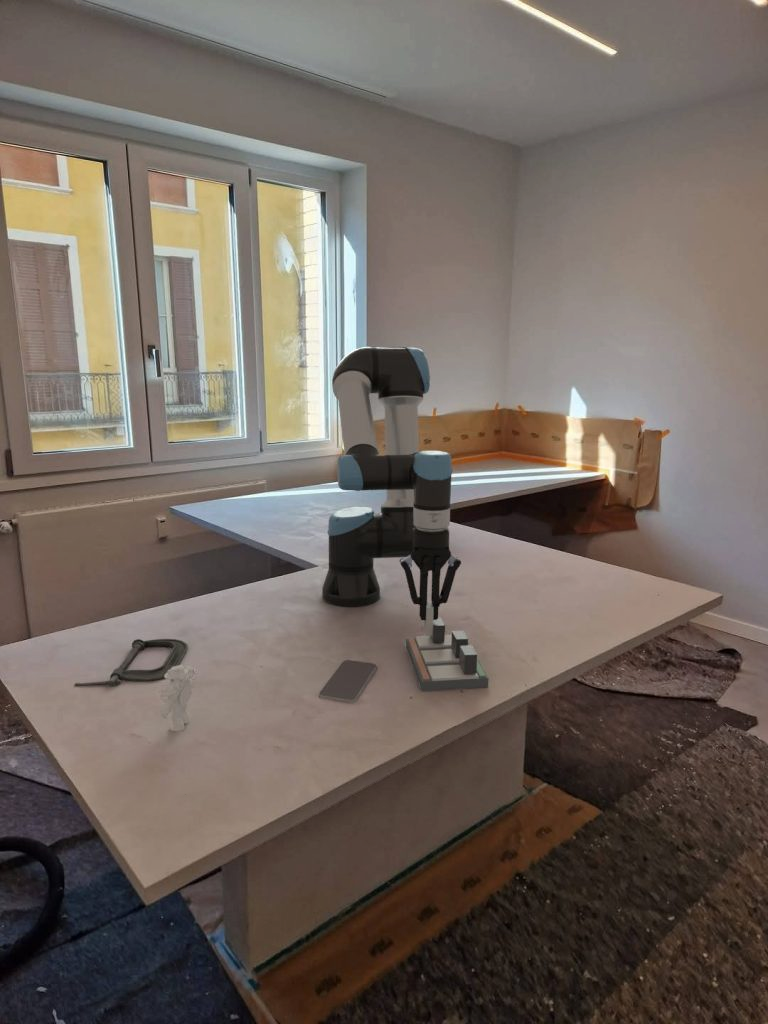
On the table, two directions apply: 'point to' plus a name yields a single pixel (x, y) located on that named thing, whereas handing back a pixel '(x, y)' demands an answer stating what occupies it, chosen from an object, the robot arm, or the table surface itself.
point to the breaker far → (438, 631)
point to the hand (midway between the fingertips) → (428, 633)
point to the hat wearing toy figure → (178, 695)
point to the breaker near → (468, 659)
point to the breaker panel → (441, 666)
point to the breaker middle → (458, 642)
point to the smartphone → (348, 681)
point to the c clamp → (156, 674)
